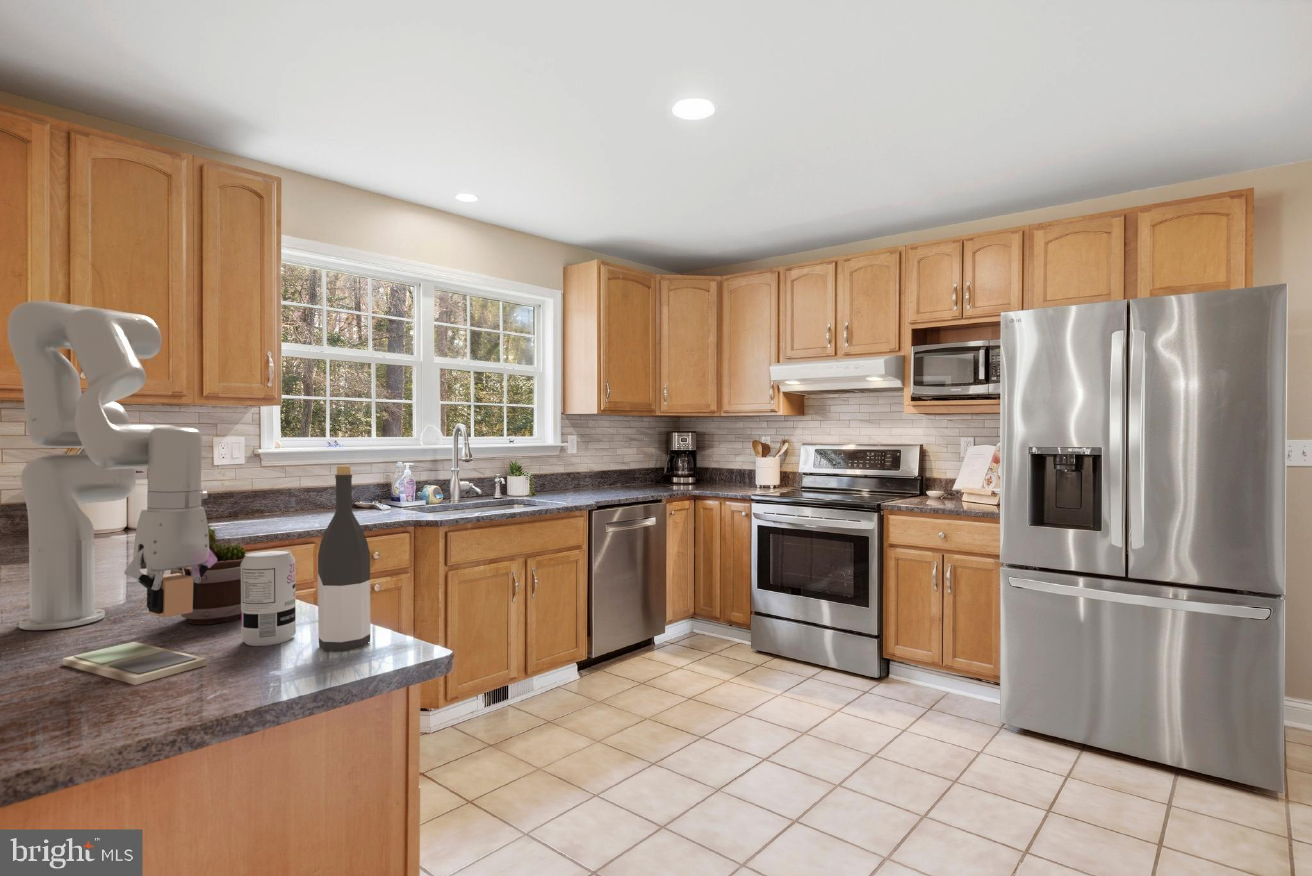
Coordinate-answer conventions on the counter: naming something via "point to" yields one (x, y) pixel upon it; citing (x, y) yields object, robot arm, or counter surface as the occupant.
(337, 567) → the wine bottle
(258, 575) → the supplement can
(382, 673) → the counter surface
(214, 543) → the flowerpot
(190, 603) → the block
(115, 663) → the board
